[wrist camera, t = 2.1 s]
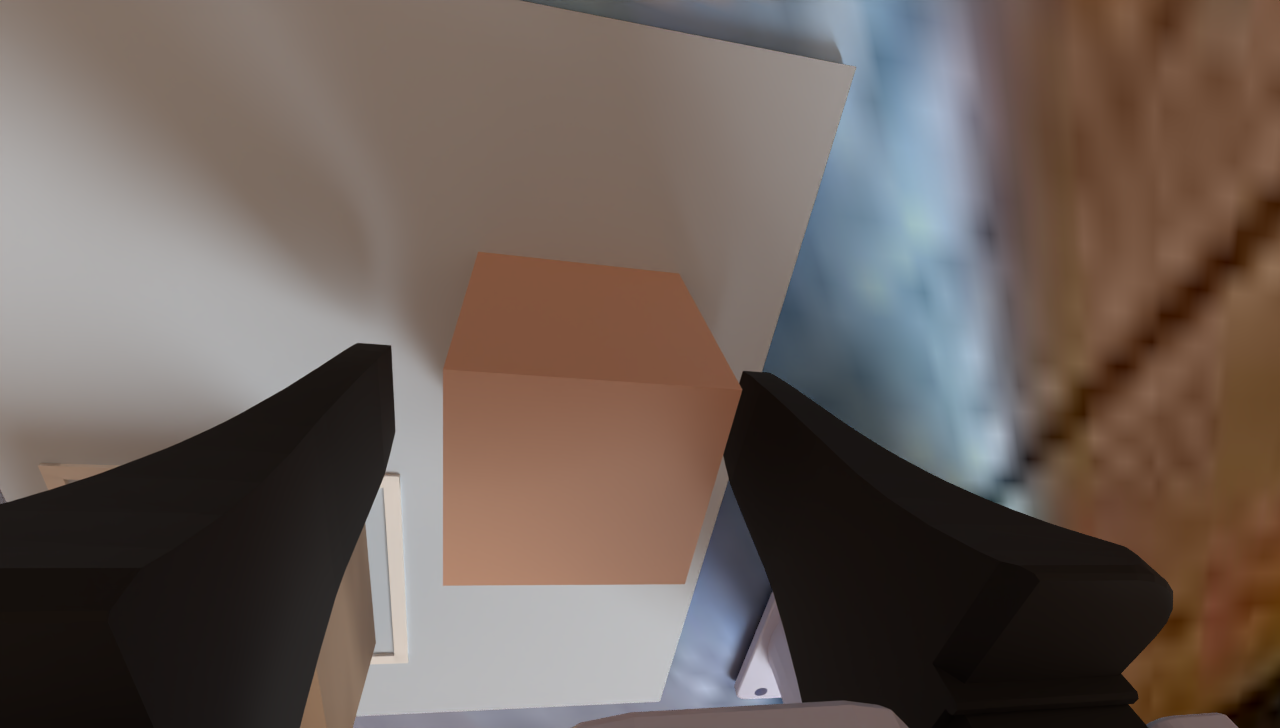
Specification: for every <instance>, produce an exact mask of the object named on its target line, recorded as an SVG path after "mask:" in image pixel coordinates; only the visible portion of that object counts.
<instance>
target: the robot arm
mask: <svg viewBox="0 0 1280 728" xmlns="http://www.w3.org/2000/svg"><path fill="white" fill-rule="evenodd" d="M739 384H740V386H741V388H742V393H741V396H740V400H739V403H738V406H737V410H736V413H735V416H734V420H733V423H732V427H731V430H730V433H729V437H728V440H727V443H726V447H725V450H724V454H723V457H724V461H725V466H726V470H727V474H728V477H729V481H730V485H731V487H732V490H733V493H734V495H735V498H736V500H737V503H738V505H739V508H740V510H741V513H742V515H743V518H744V520H745V522H746V525H747V527H748V530H749V532H750V535H751V537H752V539H753V542H754V544H755V547H756V549H757V551H758V554H759V556H760V559H761V561H762V564H763V566H764V568H765V571H766V574H767V576H768V579H769V582H770V585H771V588H772V590H773V591H772V593H771V596H770V598H769V601H768V603H767V606H766V608H765V611H764V613H763V616H762V618H761V620H760V623H759V625H758V628H757V630H756V633H755V635H754V638H753V640H752V643H751V645H750V647H749V650H748V652H747V655H746V657H745V660H744V662H743V665H742V667H741V670H740V672H739V675H738V677H737V679H736V682H735V685H734V688H735V691H736V695H737V696H738V697H739V698H742V699H759V698H779V697H782V700H783V703H784V704H772V705H755V706H737V707H720V708H702V709H684V710H667V711H649V712H632V713H626V714H621V715H616V716H611V717H606V718H601V719H596V720H591V721H587V722H582V723H579V724H577V725H576V726H574V727H572V728H1238V727H1237V726H1236V725H1235V724H1234V723H1233V722H1232V721H1231V720H1230V719H1229V718H1228V717H1227V716H1226V715H1223V714H1219V713H1207V714H1193V715H1179V716H1168V717H1164V718H1159V719H1157V720H1155V721H1153V722H1150V723H1148V724H1147V725H1146V724H1145V723H1144V722H1143V721H1142V720H1141V719H1140V717H1139V716H1138V715H1137V714H1136V713H1135V712H1134V711H1133V709H1132V708H1131V707H1130V706H1129V705H1128V704H1134V703H1135V702H1136V701H1137V700H1138V694H1137V691H1136V690H1135V689H1134V688H1133V687H1132V686H1131V684H1130V683H1129V682H1128V681H1127V680H1126V679H1125V678H1124V677H1123V675H1122V674H1121V673H1122V672H1123V671H1124V670H1125V669H1126V668H1127V667H1128V665H1129V664H1130V663H1131V662H1132V661H1133V660H1134V659H1135V658H1136V657H1137V656H1138V655H1139V654H1140V653H1141V652H1142V651H1143V650H1144V649H1145V647H1146V646H1147V645H1148V644H1149V643H1150V642H1151V641H1152V640H1153V639H1154V638H1155V637H1156V636H1157V634H1158V633H1159V632H1160V631H1161V629H1162V628H1163V627H1164V625H1165V624H1166V623H1167V621H1168V618H1169V616H1170V614H1171V612H1172V609H1173V591H1172V589H1171V587H1170V586H1169V584H1168V582H1167V581H1166V580H1165V579H1164V578H1162V577H1161V576H1160V575H1159V574H1158V573H1157V572H1156V571H1155V570H1153V569H1152V568H1151V567H1150V566H1149V565H1148V564H1147V563H1146V562H1145V561H1143V560H1142V559H1141V558H1140V557H1139V556H1138V555H1136V554H1135V553H1134V552H1132V551H1131V550H1129V549H1128V548H1126V547H1124V546H1121V545H1118V544H1114V543H1111V542H1108V541H1105V540H1101V539H1098V538H1095V537H1092V536H1088V535H1085V534H1082V533H1079V532H1075V531H1072V530H1069V529H1066V528H1062V527H1059V526H1056V525H1053V524H1050V523H1047V522H1044V521H1042V520H1039V519H1036V518H1034V517H1031V516H1028V515H1025V514H1023V513H1020V512H1017V511H1014V510H1012V509H1009V508H1007V507H1004V506H1002V505H999V504H997V503H994V502H992V501H989V500H987V499H984V498H982V497H980V496H978V495H975V494H973V493H971V492H969V491H966V490H964V489H962V488H960V487H957V486H955V485H953V484H951V483H949V482H946V481H944V480H942V479H940V478H938V477H936V476H934V475H932V474H930V473H928V472H926V471H924V470H923V469H921V468H919V467H917V466H915V465H913V464H911V463H909V462H908V461H906V460H904V459H902V458H900V457H898V456H897V455H895V454H893V453H891V452H890V451H888V450H886V449H884V448H883V447H881V446H880V445H878V444H876V443H875V442H873V441H872V440H870V439H868V438H867V437H865V436H864V435H862V434H860V433H859V432H857V431H856V430H854V429H853V428H851V427H850V426H848V425H847V424H845V423H844V422H842V421H841V420H839V419H838V418H836V417H835V416H834V415H832V414H831V413H829V412H828V411H826V410H825V409H823V408H822V407H821V406H819V405H818V404H816V403H815V402H814V401H812V400H811V399H809V398H808V397H806V396H805V395H804V394H802V393H801V392H799V391H798V390H796V389H795V388H793V387H792V386H790V385H789V384H787V383H786V382H784V381H783V380H781V379H780V378H778V377H776V376H774V375H773V374H771V373H767V372H753V371H743V372H742V375H741V379H740V382H739ZM395 432H396V430H395V410H394V390H393V370H392V350H391V345H380V344H367V343H356V344H354V345H352V346H351V347H349V348H347V349H346V350H344V351H343V352H341V353H340V354H338V355H336V356H335V357H333V358H332V359H330V360H329V361H327V362H326V363H324V364H323V365H321V366H320V367H318V368H317V369H315V370H313V371H312V372H310V373H309V374H307V375H305V376H304V377H302V378H301V379H299V380H298V381H296V382H294V383H293V384H291V385H290V386H288V387H286V388H285V389H283V390H281V391H280V392H278V393H276V394H274V395H272V396H271V397H269V398H267V399H265V400H264V401H262V402H260V403H258V404H256V405H255V406H253V407H251V408H249V409H248V410H246V411H244V412H242V413H241V414H239V415H237V416H235V417H233V418H231V419H229V420H227V421H225V422H223V423H221V424H219V425H217V426H215V427H213V428H211V429H209V430H206V431H204V432H202V433H200V434H198V435H195V436H193V437H191V438H189V439H186V440H184V441H182V442H180V443H178V444H175V445H173V446H170V447H168V448H166V449H163V450H160V451H158V452H155V453H152V454H150V455H147V456H145V457H142V458H139V459H137V460H134V461H131V462H129V463H126V464H123V465H121V466H118V467H116V468H113V469H110V470H108V471H105V472H102V473H99V474H97V475H94V476H91V477H88V478H85V479H82V480H79V481H75V482H72V483H69V484H66V485H63V486H60V487H57V488H54V489H51V490H47V491H44V492H40V493H37V494H34V495H30V496H27V497H24V498H20V499H17V500H14V501H10V502H7V503H3V504H0V728H300V726H301V722H302V718H303V714H304V710H305V706H306V702H307V698H308V695H309V691H310V687H311V684H312V680H313V676H314V672H315V669H316V665H317V661H318V658H319V654H320V650H321V647H322V643H323V640H324V636H325V633H326V629H327V626H328V623H329V619H330V616H331V612H332V609H333V605H334V602H335V598H336V595H337V592H338V589H339V587H340V584H341V581H342V578H343V576H344V573H345V570H346V568H347V565H348V563H349V561H350V558H351V556H352V553H353V551H354V549H355V546H356V544H357V541H358V539H359V536H360V534H361V532H362V529H363V527H364V524H365V522H366V520H367V517H368V515H369V512H370V510H371V507H372V505H373V503H374V500H375V498H376V495H377V493H378V490H379V488H380V485H381V483H382V480H383V478H384V475H385V472H386V468H387V464H388V460H389V457H390V453H391V448H392V444H393V440H394V436H395Z"/></svg>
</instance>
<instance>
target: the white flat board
mask: <svg viewBox="0 0 1280 728" xmlns="http://www.w3.org/2000/svg"><path fill="white" fill-rule="evenodd" d="M855 70H856V67H854V66H849V65H844V64H839V63H834V62H829V61H824V60H819V59H814V58H809V57H804V56H799V55H794V54H789V53H784V52H778V51H773V50H768V49H763V48H758V47H753V46H748V45H743V44H738V43H733V42H728V41H723V40H718V39H713V38H708V37H703V36H698V35H693V34H688V33H682V32H677V31H672V30H667V29H662V28H657V27H652V26H647V25H642V24H637V23H632V22H627V21H622V20H617V19H612V18H607V17H602V16H597V15H592V14H586V13H581V12H576V11H571V10H566V9H561V8H556V7H551V6H546V5H541V4H536V3H531V2H526V1H521V0H0V490H1V492H2V494H3V496H4V498H5V500H6V502H10V501H14V500H17V499H20V498H24V497H27V496H30V495H34V494H37V493H40V492H44V491H47V490H51V489H54V488H57V487H60V486H63V485H66V484H69V483H72V482H75V481H79V480H82V479H85V478H88V477H91V476H94V475H97V474H99V473H102V472H105V471H108V470H110V469H113V468H116V467H118V466H121V465H123V464H126V463H129V462H131V461H134V460H137V459H139V458H142V457H145V456H147V455H150V454H152V453H155V452H158V451H160V450H163V449H166V448H168V447H170V446H173V445H175V444H178V443H180V442H182V441H184V440H186V439H189V438H191V437H193V436H195V435H198V434H200V433H202V432H204V431H206V430H209V429H211V428H213V427H215V426H217V425H219V424H221V423H223V422H225V421H227V420H229V419H231V418H233V417H235V416H237V415H239V414H241V413H242V412H244V411H246V410H248V409H249V408H251V407H253V406H255V405H256V404H258V403H260V402H262V401H264V400H265V399H267V398H269V397H271V396H272V395H274V394H276V393H278V392H280V391H281V390H283V389H285V388H286V387H288V386H290V385H291V384H293V383H294V382H296V381H298V380H299V379H301V378H302V377H304V376H305V375H307V374H309V373H310V372H312V371H313V370H315V369H317V368H318V367H320V366H321V365H323V364H324V363H326V362H327V361H329V360H330V359H332V358H333V357H335V356H336V355H338V354H340V353H341V352H343V351H344V350H346V349H347V348H349V347H351V346H352V345H354V344H356V343H367V344H380V345H391V350H392V370H393V390H394V410H395V430H396V432H395V436H394V440H393V444H392V448H391V453H390V457H389V460H388V464H387V468H386V472H385V475H384V478H383V480H382V483H381V485H380V488H379V490H378V493H377V495H376V498H375V500H374V503H373V505H372V507H371V510H370V512H369V515H368V517H367V520H366V522H365V525H366V536H367V548H368V559H369V570H370V582H371V593H372V604H373V615H374V627H375V638H376V644H375V648H374V652H373V655H372V659H371V662H370V666H369V670H368V673H367V677H366V681H365V684H364V688H363V692H362V695H361V699H360V702H359V706H358V710H357V713H356V716H373V715H393V714H414V713H435V712H455V711H476V710H496V709H517V708H537V707H558V706H578V705H599V704H619V703H640V702H660V699H661V696H662V693H663V689H664V686H665V683H666V680H667V677H668V673H669V670H670V667H671V664H672V660H673V657H674V654H675V651H676V647H677V644H678V641H679V638H680V635H681V631H682V628H683V625H684V622H685V618H686V615H687V612H688V609H689V606H690V602H691V599H692V596H693V593H694V589H695V586H696V583H697V580H698V576H699V573H700V570H701V567H702V564H703V560H704V557H705V554H706V551H707V547H708V544H709V541H710V538H711V535H712V531H713V528H714V525H715V522H716V518H717V515H718V512H719V509H720V505H721V502H722V499H723V496H724V493H725V489H726V486H727V483H728V480H729V477H728V474H727V470H726V466H725V461H724V457H722V460H721V464H720V467H719V470H718V474H717V477H716V481H715V484H714V487H713V491H712V494H711V497H710V501H709V504H708V508H707V511H706V514H705V518H704V521H703V524H702V528H701V531H700V535H699V538H698V541H697V545H696V548H695V552H694V555H693V558H692V562H691V565H690V568H689V572H688V575H687V579H686V582H685V584H644V585H472V586H443V368H444V364H445V361H446V358H447V354H448V351H449V347H450V344H451V341H452V337H453V334H454V331H455V327H456V324H457V321H458V317H459V314H460V311H461V307H462V304H463V301H464V297H465V294H466V291H467V287H468V284H469V281H470V277H471V274H472V271H473V267H474V264H475V260H476V257H477V254H478V252H486V253H495V254H504V255H514V256H523V257H532V258H541V259H550V260H560V261H569V262H578V263H587V264H596V265H606V266H615V267H624V268H633V269H642V270H652V271H661V272H670V273H679V274H680V276H681V278H682V280H683V282H684V284H685V285H686V287H687V289H688V291H689V293H690V295H691V296H692V298H693V300H694V302H695V304H696V306H697V307H698V309H699V311H700V313H701V315H702V317H703V318H704V320H705V322H706V324H707V326H708V328H709V329H710V331H711V333H712V335H713V337H714V339H715V340H716V342H717V344H718V346H719V348H720V350H721V351H722V353H723V355H724V357H725V359H726V361H727V362H728V364H729V366H730V368H731V370H732V372H733V373H734V375H735V377H736V379H737V381H738V383H739V382H740V379H741V375H742V372H743V371H753V372H762V370H763V367H764V363H765V360H766V357H767V354H768V351H769V347H770V344H771V341H772V338H773V334H774V331H775V328H776V325H777V322H778V318H779V315H780V312H781V309H782V305H783V302H784V299H785V296H786V292H787V289H788V286H789V283H790V280H791V276H792V273H793V270H794V267H795V263H796V260H797V257H798V254H799V251H800V247H801V244H802V241H803V238H804V234H805V231H806V228H807V225H808V221H809V218H810V215H811V212H812V209H813V205H814V202H815V199H816V196H817V192H818V189H819V186H820V183H821V180H822V176H823V173H824V170H825V167H826V163H827V160H828V157H829V154H830V150H831V147H832V144H833V141H834V138H835V134H836V131H837V128H838V125H839V121H840V118H841V115H842V112H843V109H844V105H845V102H846V99H847V96H848V92H849V89H850V86H851V83H852V80H853V76H854V73H855Z"/></svg>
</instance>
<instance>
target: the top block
mask: <svg viewBox="0 0 1280 728" xmlns="http://www.w3.org/2000/svg"><path fill="white" fill-rule="evenodd" d="M741 393H742V388H741V386H740V384H739V383H738V381H737V379H736V377H735V375H734V373H733V372H732V370H731V368H730V366H729V364H728V362H727V361H726V359H725V357H724V355H723V353H722V351H721V350H720V348H719V346H718V344H717V342H716V340H715V339H714V337H713V335H712V333H711V331H710V329H709V328H708V326H707V324H706V322H705V320H704V318H703V317H702V315H701V313H700V311H699V309H698V307H697V306H696V304H695V302H694V300H693V298H692V296H691V295H690V293H689V291H688V289H687V287H686V285H685V284H684V282H683V280H682V278H681V276H680V274H679V273H670V272H661V271H652V270H642V269H633V268H624V267H615V266H606V265H596V264H587V263H578V262H569V261H560V260H550V259H541V258H532V257H523V256H514V255H504V254H495V253H486V252H478V254H477V257H476V260H475V264H474V267H473V271H472V274H471V277H470V281H469V284H468V287H467V291H466V294H465V297H464V301H463V304H462V307H461V311H460V314H459V317H458V321H457V324H456V327H455V331H454V334H453V337H452V341H451V344H450V347H449V351H448V354H447V358H446V361H445V364H444V368H443V586H472V585H644V584H685V582H686V579H687V575H688V572H689V568H690V565H691V562H692V558H693V555H694V552H695V548H696V545H697V541H698V538H699V535H700V531H701V528H702V524H703V521H704V518H705V514H706V511H707V508H708V504H709V501H710V497H711V494H712V491H713V487H714V484H715V481H716V477H717V474H718V470H719V467H720V464H721V460H722V457H723V454H724V450H725V447H726V443H727V440H728V437H729V433H730V430H731V427H732V423H733V420H734V416H735V413H736V410H737V406H738V403H739V400H740V396H741Z"/></svg>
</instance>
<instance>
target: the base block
mask: <svg viewBox="0 0 1280 728" xmlns="http://www.w3.org/2000/svg"><path fill="white" fill-rule="evenodd" d="M375 644H376V638H375V627H374V615H373V604H372V593H371V582H370V570H369V559H368V548H367V536H366V525H365V524H364V527H363V529H362V532H361V534H360V536H359V539H358V541H357V544H356V546H355V549H354V551H353V553H352V556H351V558H350V561H349V563H348V565H347V568H346V570H345V573H344V576H343V578H342V581H341V584H340V587H339V589H338V592H337V595H336V598H335V602H334V605H333V609H332V612H331V616H330V619H329V623H328V626H327V629H326V633H325V636H324V640H323V643H322V647H321V650H320V654H319V658H318V661H317V665H316V669H315V672H314V676H313V680H312V684H311V687H310V691H309V695H308V698H307V702H306V706H305V710H304V714H303V718H302V722H301V726H300V728H353V724H354V721H355V717H356V713H357V710H358V706H359V702H360V699H361V695H362V692H363V688H364V684H365V681H366V677H367V673H368V670H369V666H370V662H371V659H372V655H373V652H374V648H375Z"/></svg>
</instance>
